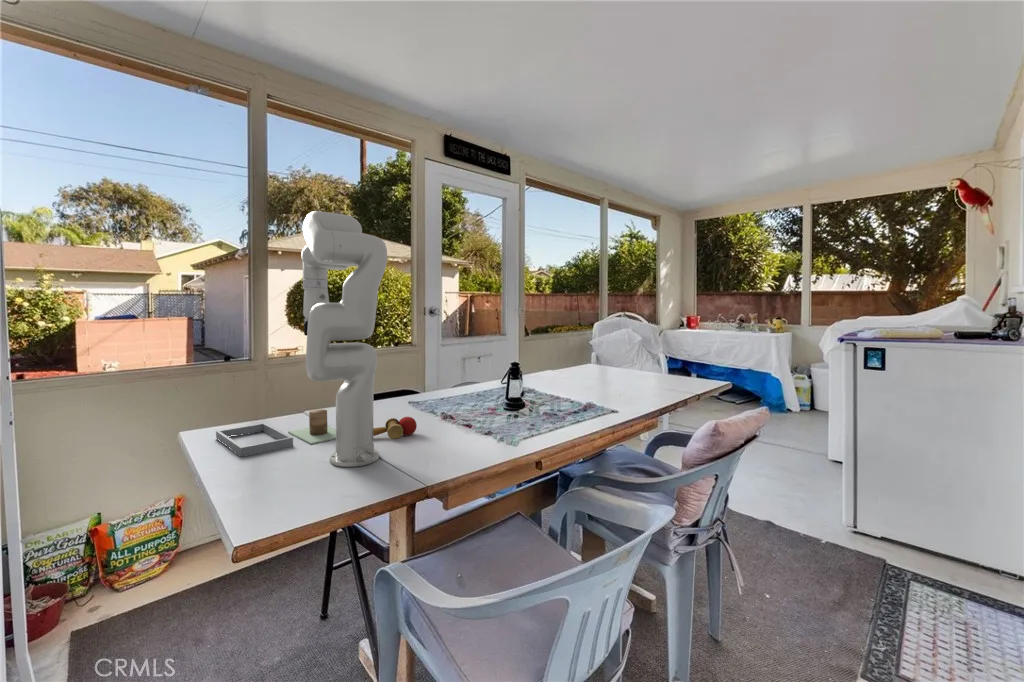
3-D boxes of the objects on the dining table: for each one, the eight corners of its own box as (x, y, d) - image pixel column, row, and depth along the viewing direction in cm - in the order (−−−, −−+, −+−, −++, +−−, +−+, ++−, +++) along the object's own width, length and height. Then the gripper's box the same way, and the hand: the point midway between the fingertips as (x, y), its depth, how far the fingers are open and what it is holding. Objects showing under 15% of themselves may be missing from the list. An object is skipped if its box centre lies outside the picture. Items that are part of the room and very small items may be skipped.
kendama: (361, 448, 134) (420, 434, 141) (357, 427, 134) (417, 414, 141) (359, 445, 141) (415, 431, 148) (355, 425, 141) (412, 413, 149)
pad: (348, 436, 141) (348, 434, 141) (310, 444, 132) (310, 442, 132) (325, 425, 152) (325, 424, 151) (288, 433, 143) (288, 431, 143)
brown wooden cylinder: (330, 433, 142) (329, 411, 141) (313, 436, 138) (313, 414, 137) (323, 429, 145) (322, 408, 145) (306, 433, 142) (306, 411, 141)
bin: (293, 446, 130) (292, 437, 130) (240, 457, 120) (240, 448, 120) (264, 430, 145) (264, 422, 144) (216, 439, 134) (216, 431, 134)
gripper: (338, 285, 146) (339, 337, 148) (314, 285, 158) (315, 334, 159) (316, 284, 141) (316, 338, 142) (292, 284, 152) (293, 334, 154)
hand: (315, 336), depth 151 cm, fingers open, 9 cm apart
